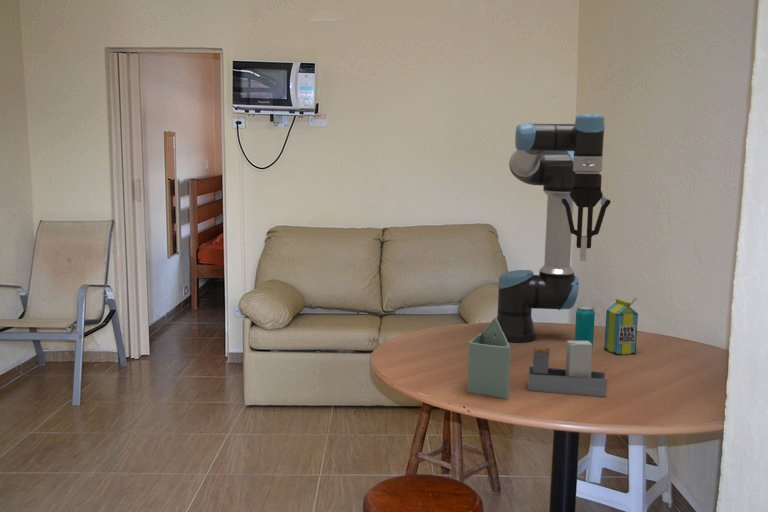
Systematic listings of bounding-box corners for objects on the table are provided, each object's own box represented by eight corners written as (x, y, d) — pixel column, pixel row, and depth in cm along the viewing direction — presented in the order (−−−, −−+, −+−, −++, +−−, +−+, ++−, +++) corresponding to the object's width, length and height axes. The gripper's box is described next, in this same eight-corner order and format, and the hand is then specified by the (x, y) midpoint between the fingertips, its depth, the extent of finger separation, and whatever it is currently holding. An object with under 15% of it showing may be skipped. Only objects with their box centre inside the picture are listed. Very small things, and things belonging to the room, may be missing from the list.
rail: (529, 382, 199) (530, 344, 198) (603, 388, 194) (606, 349, 193) (528, 390, 192) (529, 351, 190) (605, 396, 187) (608, 357, 186)
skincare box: (586, 383, 194) (589, 340, 193) (591, 388, 190) (593, 344, 188) (564, 383, 195) (566, 339, 193) (568, 388, 190) (570, 343, 189)
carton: (638, 354, 230) (641, 298, 227) (616, 355, 228) (619, 299, 226) (625, 348, 237) (628, 294, 235) (604, 349, 235) (607, 295, 233)
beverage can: (585, 350, 234) (588, 305, 232) (596, 354, 229) (598, 308, 227) (570, 351, 232) (572, 306, 230) (580, 356, 227) (583, 309, 225)
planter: (454, 383, 197) (456, 313, 195) (480, 380, 200) (482, 311, 198) (481, 402, 182) (484, 326, 180) (509, 398, 185) (512, 324, 182)
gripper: (562, 172, 189) (558, 261, 193) (613, 173, 186) (608, 263, 190) (562, 172, 197) (558, 257, 200) (611, 173, 194) (606, 259, 197)
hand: (582, 260), depth 195 cm, fingers closed
